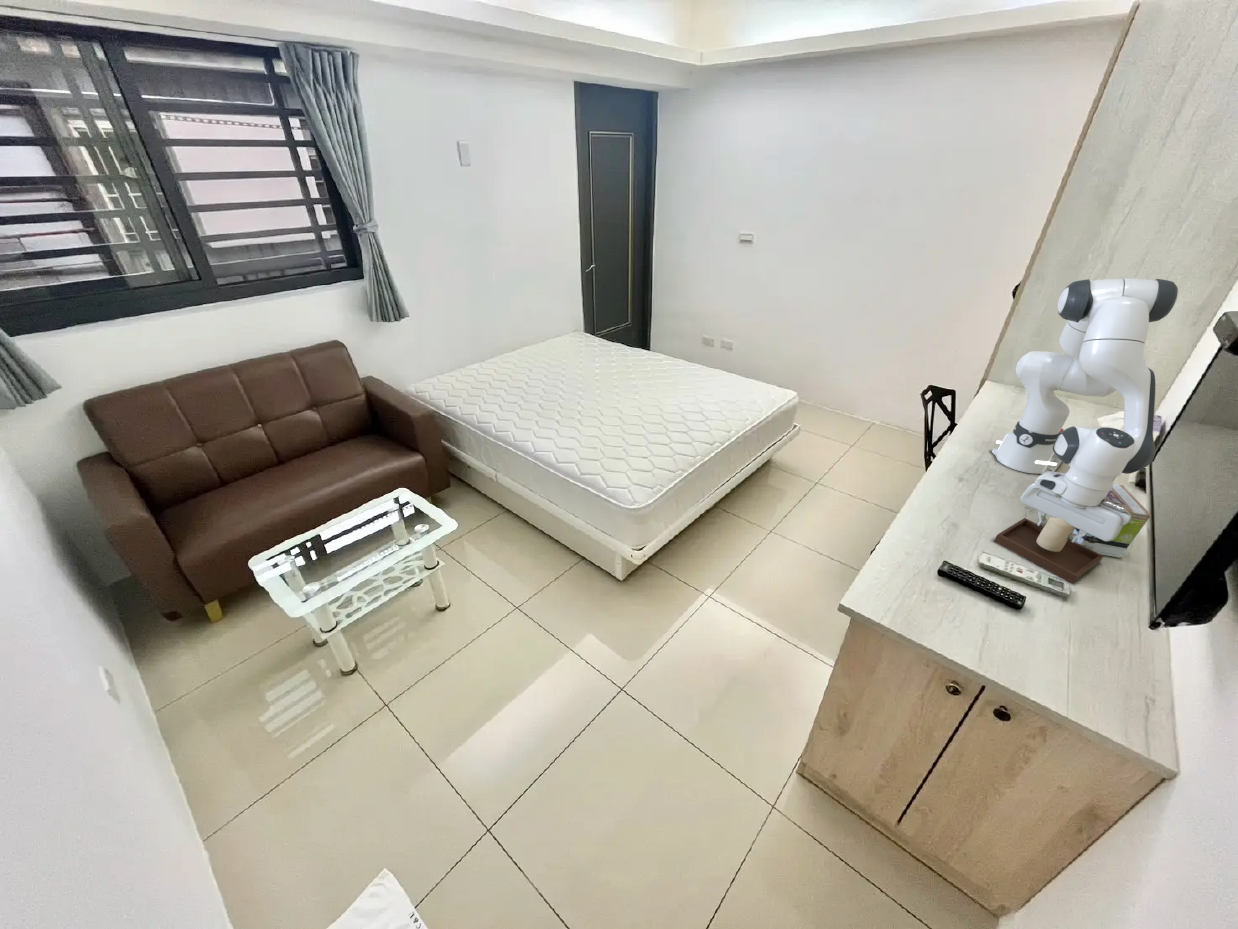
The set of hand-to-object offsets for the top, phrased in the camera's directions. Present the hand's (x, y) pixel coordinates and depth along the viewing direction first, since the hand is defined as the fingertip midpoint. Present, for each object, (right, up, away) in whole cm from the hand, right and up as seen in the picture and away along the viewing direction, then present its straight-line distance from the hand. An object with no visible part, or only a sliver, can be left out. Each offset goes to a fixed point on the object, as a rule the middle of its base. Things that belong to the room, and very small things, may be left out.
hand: (1055, 533), depth 128 cm
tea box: (+16, -3, +8) cm, 19 cm away
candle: (0, -4, +2) cm, 4 cm away
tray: (0, -6, +3) cm, 7 cm away
